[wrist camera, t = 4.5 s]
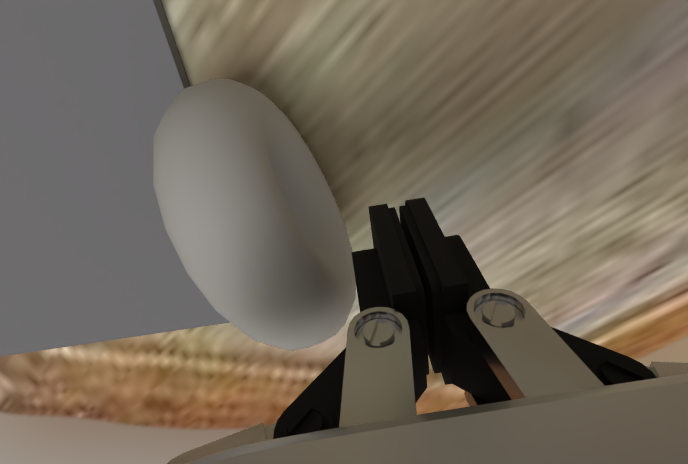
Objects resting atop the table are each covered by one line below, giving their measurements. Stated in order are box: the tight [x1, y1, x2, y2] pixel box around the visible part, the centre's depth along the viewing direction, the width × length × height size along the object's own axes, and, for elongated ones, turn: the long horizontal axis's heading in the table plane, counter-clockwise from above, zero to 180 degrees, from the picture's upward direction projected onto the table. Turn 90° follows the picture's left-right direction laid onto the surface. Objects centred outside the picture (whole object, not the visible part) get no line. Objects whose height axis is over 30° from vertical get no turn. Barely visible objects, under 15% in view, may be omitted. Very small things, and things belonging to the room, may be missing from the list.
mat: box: [0, 0, 229, 356], centre depth 19 cm, size 17×18×1 cm
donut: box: [153, 79, 356, 351], centre depth 15 cm, size 10×3×10 cm, turn 26°
